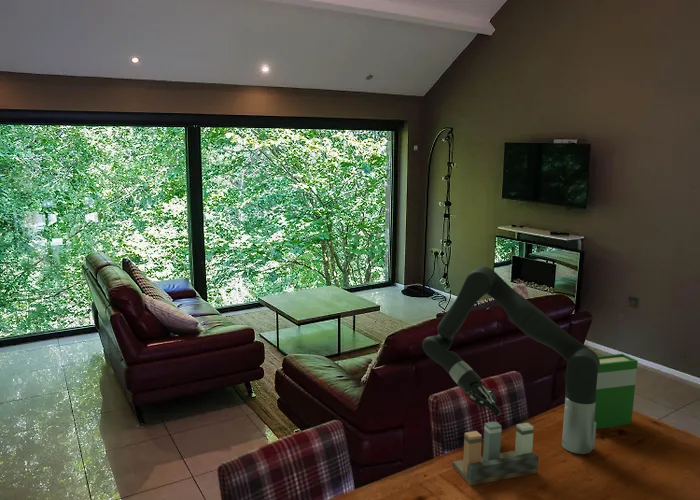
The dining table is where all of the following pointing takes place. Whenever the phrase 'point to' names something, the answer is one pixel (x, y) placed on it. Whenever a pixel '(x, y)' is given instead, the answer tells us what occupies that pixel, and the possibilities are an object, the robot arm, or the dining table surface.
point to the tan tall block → (471, 449)
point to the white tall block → (524, 439)
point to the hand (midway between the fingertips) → (499, 414)
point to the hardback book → (615, 390)
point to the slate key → (492, 441)
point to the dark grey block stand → (498, 468)
